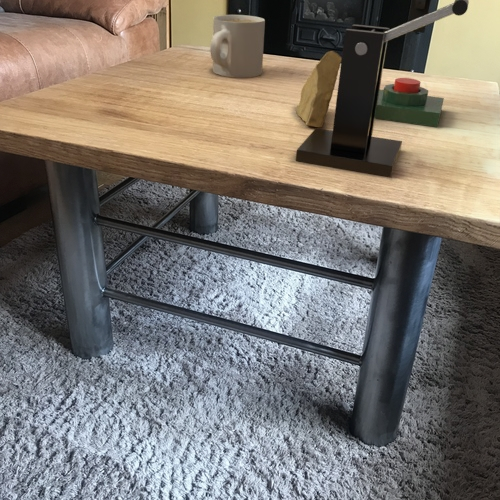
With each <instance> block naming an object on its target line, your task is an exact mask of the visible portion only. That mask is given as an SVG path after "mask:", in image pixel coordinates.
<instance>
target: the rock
mask: <svg viewBox="0 0 500 500" xmlns="http://www.w3.org/2000/svg"><path fill="white" fill-rule="evenodd" d="M319 60H320V61H318V63H317V64H316V65H315V67H314V68H313V69H312V70H311V73H310V75H309V77H308V78H306V81H305V82H304V85H303V86H302V88H301V91H300V100H299V103H298V105H297V109H296V110H295V113H296V114H297V116H298V117H299V118H301V120H302V121H303V122H305V125H306V126H308V127H314V128H320V129H322V128H323V125H324V123H325V118H326V117H327V114H328V113H329V107H330V103H331V100H332V97H333V93H334V90H335V86H336V83H337V79H338V75H339V71H340V69H341V61H342V56H341V55H340V54H338V53H337V52H336V51H334V50H330V51H327V52H326V53H325V54H324V55H323V57H322V58H320V59H319Z"/></svg>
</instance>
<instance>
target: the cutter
mask: <svg viewBox="0 0 500 500" xmlns="http://www.w3.org/2000/svg"><path fill="white" fill-rule="evenodd" d="M374 29H375V31H376V32H373V31H372V30H374ZM388 30H390V27H385V26H384V27H383V26H374V25H373V26H372V25H363V24H352V25H351V28H346V29H345V31H344V38H343V45H342V54H341V63H340V68H339V78H338V84H337V85H338V86H337V92H336V93H337V94H336V101H335V108H334V109H335V110H334V116H333V117H334V118H333V125H332V129H326V128H319V127H315V128H314V130H313V131H311V133H310V134H309V135H308V136H307V138H306V139H305V140H304V141H303V142H302V143H301V144H300V145H299V147H298V148H297V149H296V153H295V161H296V162H300V163H306V164H312V165H317V166H323V167H329V168H336V169H340V170H347V171H353V172H359V173H364V174H369V175H376V176H381V177H387V178H391V176H392V174H393V171H394V169H395V166H396V163H397V160H398V158H399V155H400V153H401V149H402V145H403V141H402V140H397V139H391V138H384V137H377V136H373V133H374V126H375V121H376V118H375V115H376V109H377V103H378V96H379V90H381V84H382V77H383V71H384V66H385V65H384V64H385V59H386V52H387V48H388V47H387V46H388V41H386V42H384V43H383V41H384V35H385V33H383V32H386V31H388Z"/></svg>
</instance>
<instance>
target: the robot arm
mask: <svg viewBox="0 0 500 500" xmlns="http://www.w3.org/2000/svg"><path fill="white" fill-rule="evenodd" d="M431 3H432V0H411V2H410V8H409V13H408V17H407V22H409V21H412V20H414V19H417V18H419V17H421V16H424V15H426V14H429V13H430V8H431ZM426 28H427V25H425V26H423V27H420V28H418V29H415V30H413V31H411V32H413V33H421V34H424V33H426Z"/></svg>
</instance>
